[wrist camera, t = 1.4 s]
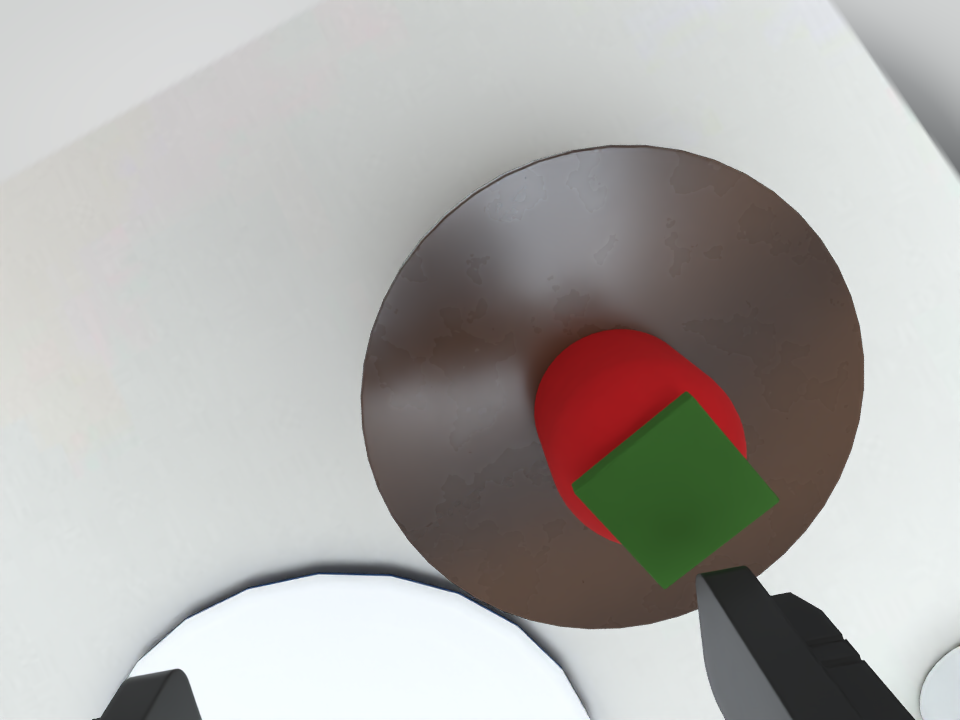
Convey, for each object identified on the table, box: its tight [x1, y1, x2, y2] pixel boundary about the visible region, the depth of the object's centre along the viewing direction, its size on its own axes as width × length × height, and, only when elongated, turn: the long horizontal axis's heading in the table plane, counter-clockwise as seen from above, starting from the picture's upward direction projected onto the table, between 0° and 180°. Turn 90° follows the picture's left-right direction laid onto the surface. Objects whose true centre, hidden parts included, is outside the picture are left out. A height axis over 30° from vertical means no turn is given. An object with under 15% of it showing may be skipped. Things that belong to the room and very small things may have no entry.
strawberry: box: [534, 329, 779, 589], centre depth 16 cm, size 4×4×5 cm
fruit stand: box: [361, 145, 864, 629], centre depth 25 cm, size 13×13×13 cm
